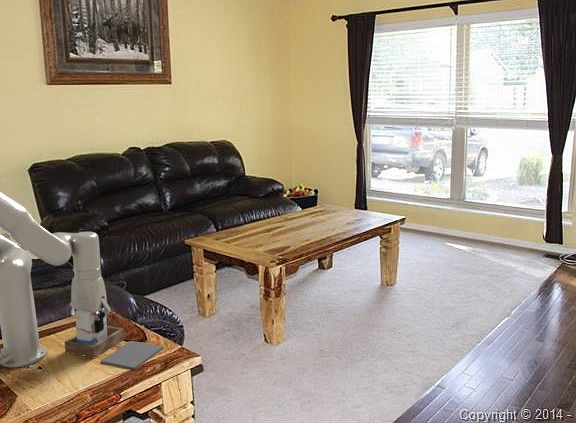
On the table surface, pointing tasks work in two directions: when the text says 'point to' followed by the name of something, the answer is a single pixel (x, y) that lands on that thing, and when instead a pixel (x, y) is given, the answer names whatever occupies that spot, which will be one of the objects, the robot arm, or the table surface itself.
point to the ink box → (88, 328)
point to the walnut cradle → (113, 338)
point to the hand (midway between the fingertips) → (91, 329)
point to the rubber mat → (132, 355)
